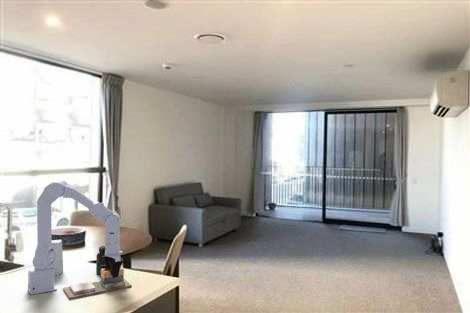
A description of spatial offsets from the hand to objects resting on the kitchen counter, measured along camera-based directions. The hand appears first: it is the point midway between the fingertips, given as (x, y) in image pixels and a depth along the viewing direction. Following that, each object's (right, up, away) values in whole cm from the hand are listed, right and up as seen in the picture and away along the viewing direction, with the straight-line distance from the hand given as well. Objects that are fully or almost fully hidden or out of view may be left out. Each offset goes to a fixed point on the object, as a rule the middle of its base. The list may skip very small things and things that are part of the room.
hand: (112, 274), depth 158 cm
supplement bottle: (-9, -5, +17) cm, 20 cm away
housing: (0, -3, 0) cm, 3 cm away
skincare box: (-32, -4, +15) cm, 36 cm away
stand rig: (-5, -5, -3) cm, 8 cm away
